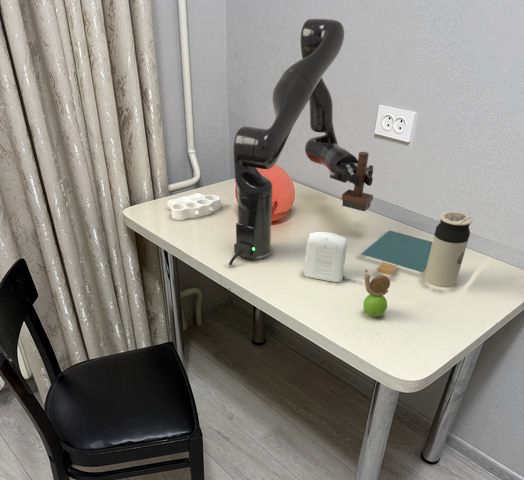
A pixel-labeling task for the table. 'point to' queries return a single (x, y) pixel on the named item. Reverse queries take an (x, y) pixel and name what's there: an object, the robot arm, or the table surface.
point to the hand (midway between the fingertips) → (365, 182)
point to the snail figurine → (376, 294)
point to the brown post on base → (358, 188)
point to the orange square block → (387, 268)
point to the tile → (401, 250)
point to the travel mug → (448, 249)
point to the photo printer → (325, 256)
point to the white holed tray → (193, 206)
